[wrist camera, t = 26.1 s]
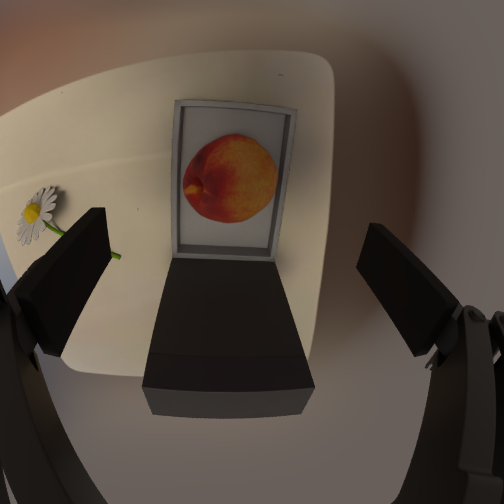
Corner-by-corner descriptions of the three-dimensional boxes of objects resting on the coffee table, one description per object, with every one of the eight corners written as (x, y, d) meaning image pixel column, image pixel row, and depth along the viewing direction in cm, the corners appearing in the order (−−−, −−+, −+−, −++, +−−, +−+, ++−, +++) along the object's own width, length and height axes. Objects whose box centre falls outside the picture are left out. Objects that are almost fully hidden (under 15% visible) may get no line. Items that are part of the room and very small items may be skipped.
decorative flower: (102, 279, 24) (-3, 230, 20) (109, 287, 30) (16, 246, 25) (129, 210, 27) (26, 171, 22) (130, 230, 32) (40, 194, 28)
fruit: (205, 120, 24) (197, 123, 17) (281, 147, 26) (303, 161, 19) (180, 193, 27) (166, 223, 20) (253, 215, 29) (263, 251, 22)
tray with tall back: (179, 101, 23) (99, 84, 7) (290, 109, 25) (403, 116, 8) (176, 274, 33) (152, 414, 16) (266, 277, 34) (301, 414, 18)
